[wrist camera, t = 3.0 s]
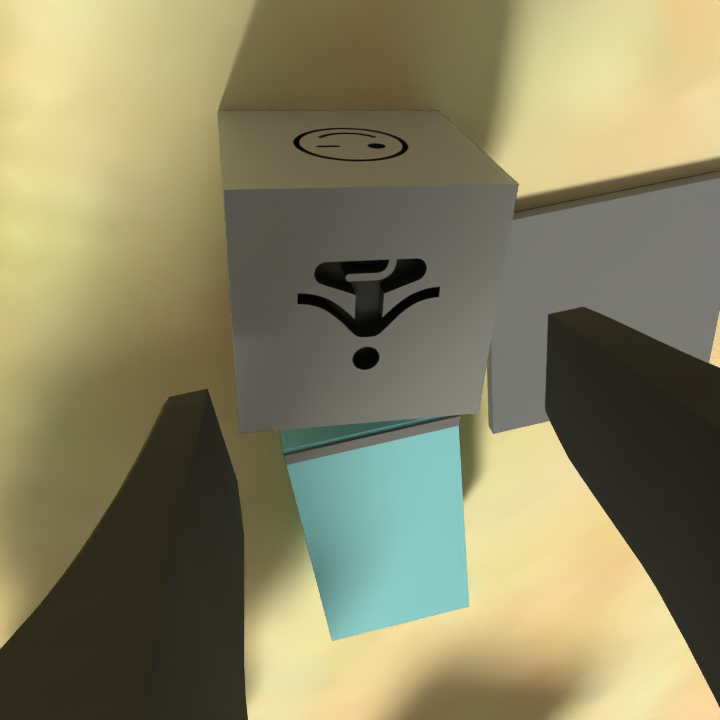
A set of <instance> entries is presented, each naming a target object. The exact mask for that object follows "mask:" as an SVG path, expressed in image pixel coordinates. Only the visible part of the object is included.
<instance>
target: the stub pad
mask: <svg viewBox="0 0 720 720" xmlns="http://www.w3.org/2000/svg"><path fill="white" fill-rule="evenodd" d="M579 307H585V308H588V309H591V310H593V311H596V312H598V313H600V314H603V315H605V316H607V317H609V318H611V319H614V320H616V321H618V322H620V323H622V324H624V325H626V326H629V327H631V328H633V329H635V330H637V331H639V332H641V333H643V334H646V335H648V336H650V337H652V338H654V339H656V340H658V341H660V342H663V343H665V344H667V345H669V346H671V347H673V348H676V349H678V350H680V351H682V352H684V353H687V354H689V355H691V356H693V357H696V358H698V359H700V360H702V361H705V362H707V363H709V359H710V355H711V350H712V345H713V340H714V335H715V330H716V325H717V320H718V315H719V310H720V171H717V172H712V173H707V174H702V175H698V176H693V177H688V178H683V179H678V180H673V181H668V182H663V183H658V184H653V185H648V186H643V187H638V188H633V189H629V190H624V191H619V192H614V193H609V194H604V195H599V196H594V197H589V198H584V199H579V200H574V201H569V202H564V203H560V204H555V205H550V206H545V207H540V208H535V209H530V210H525V211H520V212H515V213H513V219H512V225H511V230H510V236H509V241H508V247H507V253H506V258H505V264H504V270H503V275H502V281H501V286H500V292H499V298H498V303H497V309H496V314H495V320H494V326H493V331H492V337H491V343H490V348H489V354H488V359H487V376H488V415H489V427H490V429H491V431H492V433H493V434H495V433H499V432H503V431H508V430H512V429H516V428H521V427H525V426H529V425H534V424H538V423H542V422H547V421H550V420H549V418H548V416H547V413H546V411H545V391H546V361H547V331H548V314H551V313H556V312H561V311H565V310H570V309H574V308H579Z"/></svg>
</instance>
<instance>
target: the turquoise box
mask: <svg viewBox="0 0 720 720" xmlns="http://www.w3.org/2000/svg"><path fill="white" fill-rule="evenodd" d="M459 420H461V415H453V416H441V417H429V418H417V419H405V420H393V421H381V422H369V423H357V424H346V425H334V426H322V427H310V428H298V429H286V430H280V437H281V444H282V450H283V455H284V459H285V463H286V466H287V470H288V474H289V477H290V481H291V485H292V489H293V493H294V497H295V500H296V504H297V508H298V512H299V516H300V520H301V523H302V527H303V531H304V535H305V539H306V543H307V547H308V550H309V554H310V558H311V562H312V566H313V570H314V573H315V577H316V581H317V585H318V589H319V593H320V597H321V600H322V604H323V608H324V612H325V616H326V620H327V623H328V627H329V631H330V635H331V639H332V641H334V640H338V639H342V638H346V637H350V636H354V635H358V634H362V633H366V632H370V631H374V630H378V629H382V628H386V627H390V626H394V625H398V624H402V623H406V622H410V621H414V620H418V619H422V618H425V617H429V616H433V615H437V614H441V613H445V612H449V611H453V610H457V609H461V608H465V607H469V594H468V577H467V560H466V543H465V526H464V509H463V492H462V475H461V458H460V441H459V426H460V422H459Z"/></svg>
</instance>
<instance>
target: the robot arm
mask: <svg viewBox="0 0 720 720" xmlns="http://www.w3.org/2000/svg"><path fill="white" fill-rule="evenodd" d="M545 411H546V413H547V416H548V418H549V420H550V422H551V424H552V426H553V428H554V430H555V432H556V434H557V436H558V438H559V440H560V442H561V444H562V446H563V448H564V450H565V452H566V454H567V456H568V458H569V459H570V461H571V462H572V464H573V465H574V467H575V468H576V470H577V471H578V473H579V474H580V476H581V477H582V479H583V480H584V482H585V483H586V485H587V486H588V488H589V489H590V490H591V492H592V493H593V495H594V496H595V498H596V499H597V501H598V502H599V504H600V505H601V506H602V508H603V509H604V511H605V512H606V514H607V515H608V516H609V518H610V519H611V521H612V522H613V524H614V525H615V527H616V528H617V529H618V531H619V532H620V534H621V535H622V537H623V538H624V540H625V541H626V542H627V544H628V545H629V547H630V548H631V550H632V551H633V552H634V554H635V555H636V557H637V558H638V560H639V561H640V563H641V564H642V566H643V567H644V569H645V570H646V572H647V574H648V575H649V577H650V578H651V580H652V582H653V583H654V585H655V586H656V588H657V590H658V592H659V593H660V595H661V597H662V599H663V601H664V603H665V604H666V606H667V608H668V610H669V612H670V613H671V615H672V617H673V619H674V621H675V623H676V624H677V626H678V628H679V630H680V632H681V634H682V635H683V637H684V639H685V641H686V643H687V645H688V647H689V649H690V650H691V652H692V654H693V656H694V658H695V660H696V662H697V664H698V666H699V668H700V670H701V672H702V674H703V676H704V678H705V679H706V681H707V683H708V685H709V687H710V689H711V691H712V693H713V695H714V697H715V699H716V701H717V703H718V705H719V707H720V368H719V367H716V366H714V365H712V364H709V363H707V362H705V361H702V360H700V359H698V358H696V357H693V356H691V355H689V354H687V353H684V352H682V351H680V350H678V349H676V348H673V347H671V346H669V345H667V344H665V343H663V342H660V341H658V340H656V339H654V338H652V337H650V336H648V335H646V334H643V333H641V332H639V331H637V330H635V329H633V328H631V327H629V326H626V325H624V324H622V323H620V322H618V321H616V320H614V319H611V318H609V317H607V316H605V315H603V314H600V313H598V312H596V311H593V310H591V309H588V308H585V307H579V308H574V309H570V310H565V311H561V312H556V313H551V314H548V331H547V361H546V391H545ZM0 720H248V716H247V706H246V696H245V675H244V532H243V524H242V515H241V507H240V499H239V491H238V484H237V479H236V476H235V473H234V470H233V467H232V464H231V460H230V457H229V454H228V451H227V448H226V445H225V442H224V439H223V436H222V432H221V429H220V426H219V423H218V420H217V417H216V414H215V411H214V408H213V405H212V401H211V398H210V395H209V392H208V389H204V390H199V391H195V392H190V393H186V394H181V395H177V396H172V397H169V398H168V400H167V401H166V402H165V404H164V406H163V408H162V410H161V412H160V414H159V416H158V418H157V420H156V422H155V424H154V426H153V428H152V430H151V432H150V434H149V436H148V438H147V440H146V442H145V444H144V446H143V448H142V450H141V452H140V454H139V455H138V457H137V459H136V461H135V463H134V465H133V466H132V468H131V470H130V472H129V473H128V475H127V477H126V479H125V481H124V482H123V484H122V486H121V488H120V489H119V491H118V493H117V495H116V496H115V498H114V500H113V501H112V503H111V504H110V506H109V508H108V509H107V511H106V512H105V514H104V515H103V517H102V519H101V520H100V522H99V523H98V525H97V526H96V528H95V529H94V531H93V533H92V534H91V536H90V537H89V539H88V540H87V542H86V543H85V545H84V546H83V548H82V549H81V551H80V552H79V553H78V555H77V556H76V558H75V559H74V560H73V562H72V563H71V565H70V566H69V567H68V569H67V570H66V571H65V573H64V574H63V575H62V577H61V578H60V579H59V581H58V582H57V583H56V585H55V586H54V587H53V588H52V590H51V591H50V592H49V594H48V595H47V596H46V598H45V599H44V600H43V601H42V603H41V604H40V605H39V606H38V607H37V609H36V610H35V611H34V612H33V613H32V614H31V615H30V616H29V618H28V619H27V620H26V621H25V622H24V623H23V624H22V625H21V627H20V628H19V629H18V630H17V631H16V632H15V633H14V634H13V636H12V637H11V638H10V639H9V640H8V641H7V642H6V643H5V645H4V646H3V647H2V648H1V649H0Z"/></svg>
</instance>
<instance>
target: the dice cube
mask: <svg viewBox="0 0 720 720" xmlns="http://www.w3.org/2000/svg"><path fill="white" fill-rule="evenodd" d="M218 126H219V141H220V156H221V172H222V187H223V202H224V217H225V233H226V248H227V263H228V278H229V294H230V309H231V323H232V338H233V352H234V367H235V381H236V396H237V410H238V425H239V433H250V432H262V431H274V430H286V429H298V428H310V427H322V426H334V425H346V424H357V423H369V422H381V421H393V420H405V419H417V418H429V417H441V416H453V415H465V414H477V413H478V410H479V404H480V399H481V393H482V388H483V382H484V376H485V371H486V365H487V359H488V354H489V348H490V343H491V337H492V331H493V326H494V320H495V314H496V309H497V303H498V298H499V292H500V286H501V281H502V275H503V270H504V264H505V258H506V253H507V247H508V241H509V236H510V230H511V225H512V219H513V213H514V208H515V202H516V197H517V191H518V185H519V184H518V183H517V182H516V181H515V180H514V179H513V178H512V177H511V176H510V175H508V174H507V173H506V172H505V171H504V170H503V169H502V168H501V167H500V166H499V165H497V164H496V163H495V162H494V161H493V160H492V159H491V158H490V157H489V156H488V155H486V154H485V153H484V152H483V151H482V150H481V149H480V148H479V147H478V146H477V145H475V144H474V143H473V142H472V141H471V140H470V139H469V138H468V137H467V136H466V135H465V134H463V133H462V132H461V131H460V130H459V129H458V128H457V127H456V126H455V125H454V124H452V123H451V122H450V121H449V120H448V119H447V118H446V117H445V116H444V115H443V114H441V113H440V112H439V111H218Z"/></svg>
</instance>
